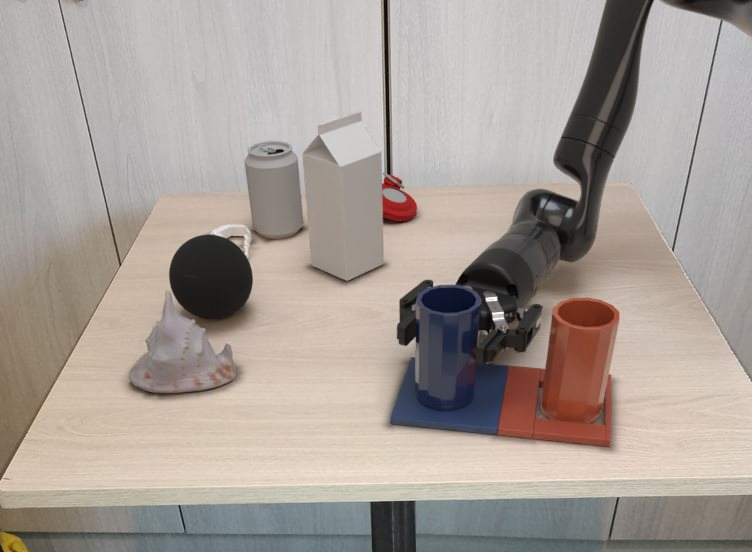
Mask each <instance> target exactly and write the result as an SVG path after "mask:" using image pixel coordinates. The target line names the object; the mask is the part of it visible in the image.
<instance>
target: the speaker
mask: <svg viewBox="0 0 752 552" xmlns="http://www.w3.org/2000/svg"><path fill="white" fill-rule="evenodd" d="M244 253H245V252H244V250H242V249H241V247H240V246H238V244H236V243H235V242H233V241H232V240H230V239H229V238H224V237H221V236H217V235H211V234H200V235H196V236H194V237H191V238H189V239H188V240H187V241H185V242H184V243H182V244H181V245H180V246H179V247H178V248H177V250H176V251H175V253H174V255H173V256H172V259H171V261H170V265H169V270H168V273H169V274H168V279H169V280H168V281H169V286H170V289H171V293H172V295H173V297H174V298H175V300H176V301H177V302H178V304H179V305H180V307H182V308H183V309H184V310H185V311H186V312H187V313H189V314H191V315H192V316H194V317H196V318H199V319H202V320H207V321H219V320H224V319H227V318H230V317H231V316H234V315H235V314H237V313H238V312H240V310H241V309H242V308H243V307H244V306H245V305H246V303H247V302H248V300H249V299H250V296H251V294H252V290H253V285H254V284H253V283H254V278H253V277H254V275H253V269H252V266H251V263H250V261H249V259H247V257H246V255H245V254H244Z"/></svg>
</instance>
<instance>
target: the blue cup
mask: <svg viewBox="0 0 752 552" xmlns="http://www.w3.org/2000/svg"><path fill="white" fill-rule="evenodd" d="M480 312H481V297H480V296H479V295H478V293H477V292H476V291H473V290H471V289H469V288H467V287H463V286H458V285H455V284H437V285H433V287H430V288H427V289H425V290H424V291H422V292H421V293H419V294H418V297H417V299H416V337H415V356H414V357H415V391H416V398H417V400H418V401H419V402H420V403H421V404H422V405H423V406H425V407H427V408H430V409H433V410H437V411H454V410H459V409H462V408H464V407H466V406H468V405H469V404H470V403H471V402H472V401H473V399H474V395H475V387H476V372H477V365H476V352H477V347H478V345H479V343H480V342H479V339H480V331H479V327H480Z"/></svg>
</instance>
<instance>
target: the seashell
mask: <svg viewBox="0 0 752 552" xmlns="http://www.w3.org/2000/svg"><path fill="white" fill-rule="evenodd" d="M164 294H165V295H164V296H165V298H164V303H163V308H162V312H161V313H162V314H161V318H160V320H157V321H155V325H152V330H151V332H150V333H149V336H147V337H146V338H145V339H144V342H145V343H146V349H147V352H145V353H144V354H142V356H141V357H140V358H139V359H138V360H137V361H136V362H135V363H134V365H132V366H131V368H130V370H129V372H128V381H130V382H131V383H132V384H133V386H135V387H137V388H139V389H142V390H144V391H147V392H150V393H158V394H181V393H189V392H190V393H191V392H199V391H200V392H201V391H206V390H209V389H214V388H217V387H220V386H223V385H226V384H228V383H230V382H232V381H233V380H235V379H236V378H237V373H238V370H237V366H236V365H235V363H234V360H233V350H232V347H231V344H229V343H225V345H224V346H223V347H224V348H223V349H222V351H221V352H219V353H218V354H216V353H215V351H214V348H213V347H212V345H211V343H210V341H209V337H207V335H206V328H205V327H200V326H199V325H198V324H197V322H196V319H194V318H192V319H190V318H187V316H184V315H183V314H181V313H180V312H179V311H178V310H177V308H176V307H175V303H174V302H173V301H174V300H173V296H172V295H173V294H172V292H171V291H170V290H169V289H168V290H166V291H165V293H164Z"/></svg>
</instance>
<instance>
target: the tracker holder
mask: <svg viewBox="0 0 752 552" xmlns="http://www.w3.org/2000/svg"><path fill="white" fill-rule="evenodd" d="M382 176H384V178H383V182H382V205H383V219H387V220H391V221H395V222H406V221H407V222H408V221H410V220H412V219H414V217H415V216H416V213H417V210H418V205H417V202H416V201H415V199H414V198H413V196H411V195H410V194H409V193H407V192H406V191H404V189H405V186H404V185H403V180H402V179H401V178H400V177H398V176H397V175H396V176H395V175H393V174H388V173H386V171H385V172H384V171H383V172H382ZM402 189H403V190H402Z"/></svg>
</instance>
